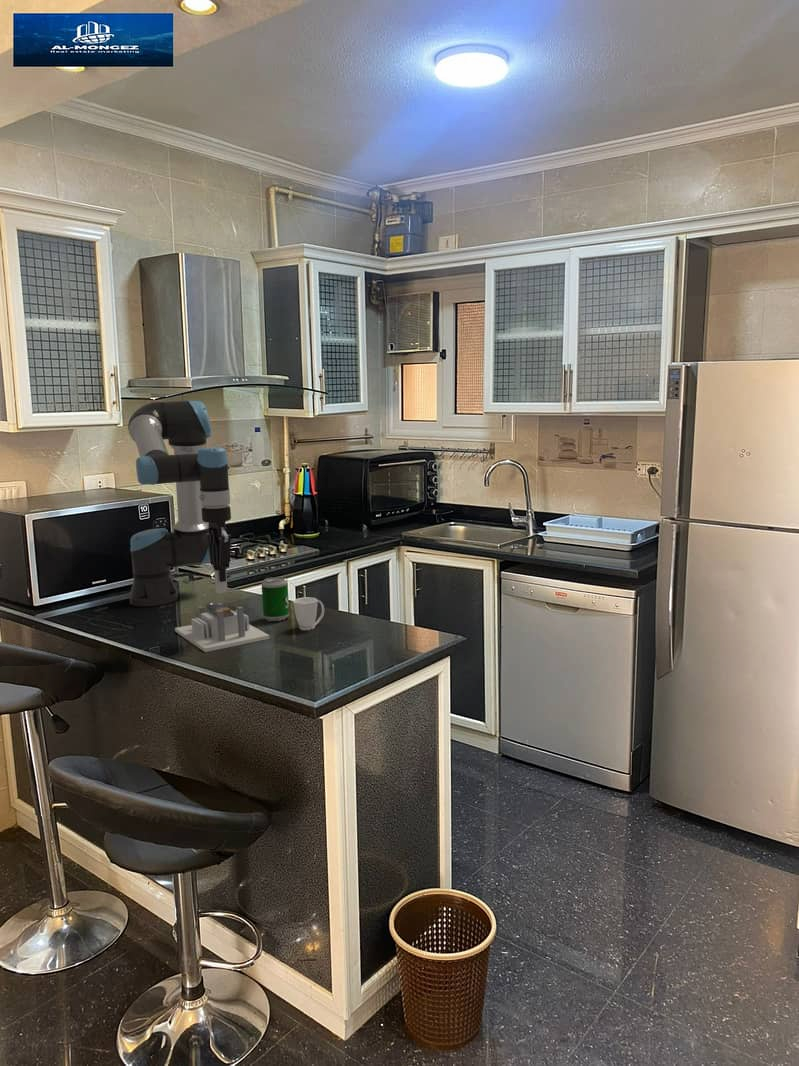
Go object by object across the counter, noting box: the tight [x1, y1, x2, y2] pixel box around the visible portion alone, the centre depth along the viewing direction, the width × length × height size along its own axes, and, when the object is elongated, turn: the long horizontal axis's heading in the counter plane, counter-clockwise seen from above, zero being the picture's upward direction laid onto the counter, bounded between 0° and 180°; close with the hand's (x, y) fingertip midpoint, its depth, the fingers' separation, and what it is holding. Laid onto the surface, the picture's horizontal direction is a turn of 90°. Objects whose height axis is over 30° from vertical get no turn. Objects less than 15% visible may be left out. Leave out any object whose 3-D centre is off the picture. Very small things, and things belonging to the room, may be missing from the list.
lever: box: [204, 602, 234, 617], centre depth 216 cm, size 14×3×2 cm, turn 34°
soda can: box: [261, 576, 290, 622], centre depth 230 cm, size 8×8×12 cm
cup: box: [292, 597, 325, 631], centre depth 221 cm, size 7×10×8 cm
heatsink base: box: [174, 602, 270, 653], centre depth 216 cm, size 24×18×9 cm
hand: (221, 592), depth 213 cm, fingers closed
